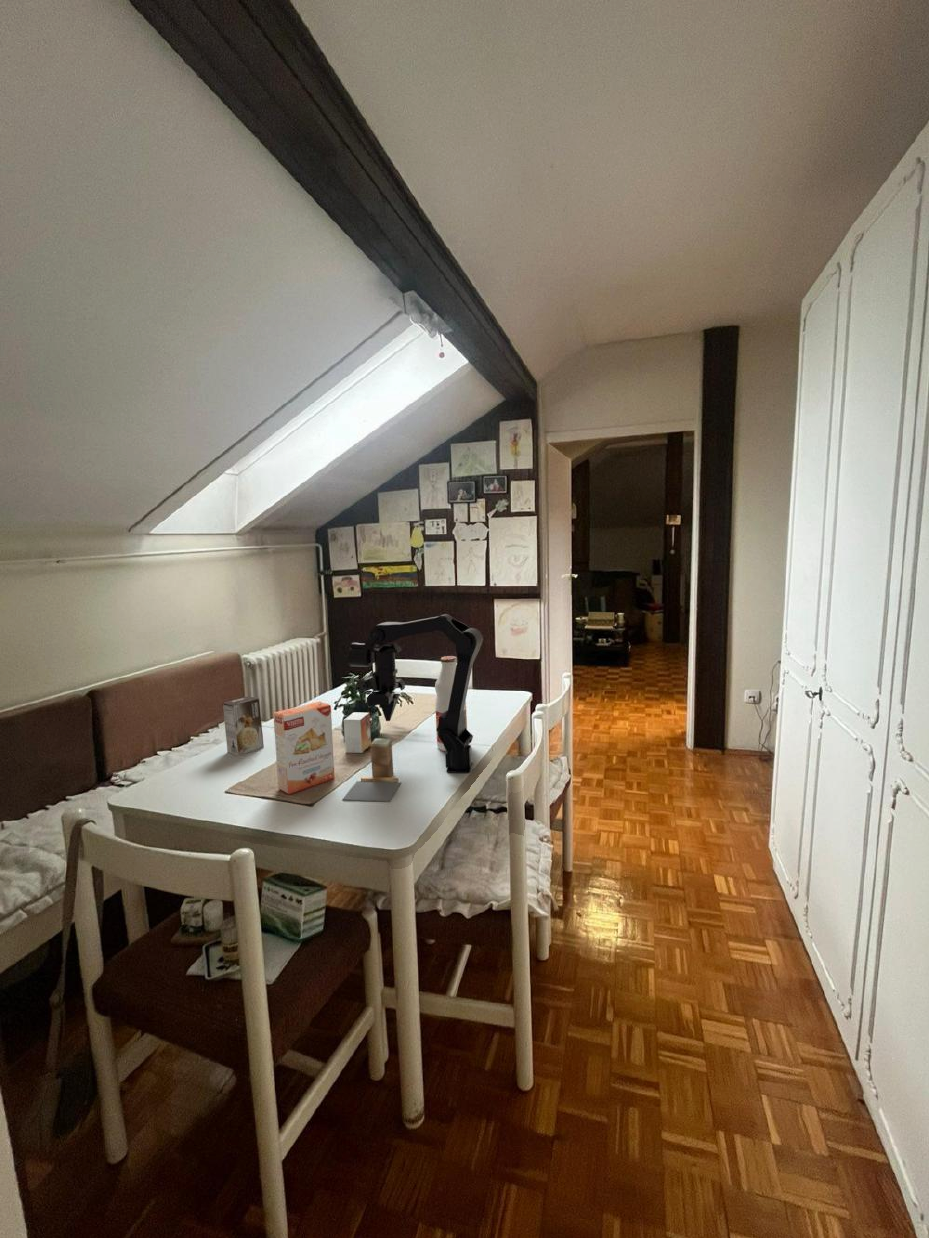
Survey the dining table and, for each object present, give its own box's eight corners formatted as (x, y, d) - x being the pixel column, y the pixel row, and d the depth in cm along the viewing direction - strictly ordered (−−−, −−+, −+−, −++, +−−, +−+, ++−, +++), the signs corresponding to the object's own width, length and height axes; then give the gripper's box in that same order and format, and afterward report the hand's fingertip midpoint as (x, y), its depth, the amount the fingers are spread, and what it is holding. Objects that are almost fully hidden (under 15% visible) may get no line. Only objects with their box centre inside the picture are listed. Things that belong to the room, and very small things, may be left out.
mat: (400, 783, 154) (400, 782, 153) (389, 801, 143) (389, 800, 143) (357, 782, 155) (356, 781, 155) (342, 800, 145) (342, 799, 145)
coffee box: (252, 743, 189) (248, 695, 187) (264, 747, 185) (260, 698, 183) (226, 752, 182) (221, 702, 180) (238, 756, 178) (233, 705, 176)
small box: (362, 753, 177) (360, 719, 175) (345, 752, 178) (342, 719, 176) (371, 744, 184) (369, 712, 183) (355, 743, 186) (353, 711, 184)
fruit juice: (449, 754, 173) (445, 662, 169) (431, 746, 180) (427, 657, 177) (473, 746, 179) (470, 657, 175) (454, 739, 186) (451, 653, 182)
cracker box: (289, 796, 148) (283, 716, 146) (277, 789, 153) (271, 712, 150) (336, 778, 158) (331, 703, 155) (324, 773, 162) (319, 700, 160)
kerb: (398, 781, 155) (398, 777, 155) (397, 782, 154) (397, 779, 154) (362, 780, 156) (361, 776, 156) (360, 781, 155) (360, 778, 155)
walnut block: (393, 773, 160) (391, 738, 159) (388, 780, 156) (386, 744, 154) (377, 773, 161) (375, 738, 160) (372, 779, 156) (370, 744, 155)
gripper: (367, 660, 175) (370, 711, 177) (346, 674, 157) (350, 730, 159) (404, 660, 173) (406, 711, 175) (386, 674, 155) (389, 731, 157)
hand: (388, 720), depth 167 cm, fingers closed
